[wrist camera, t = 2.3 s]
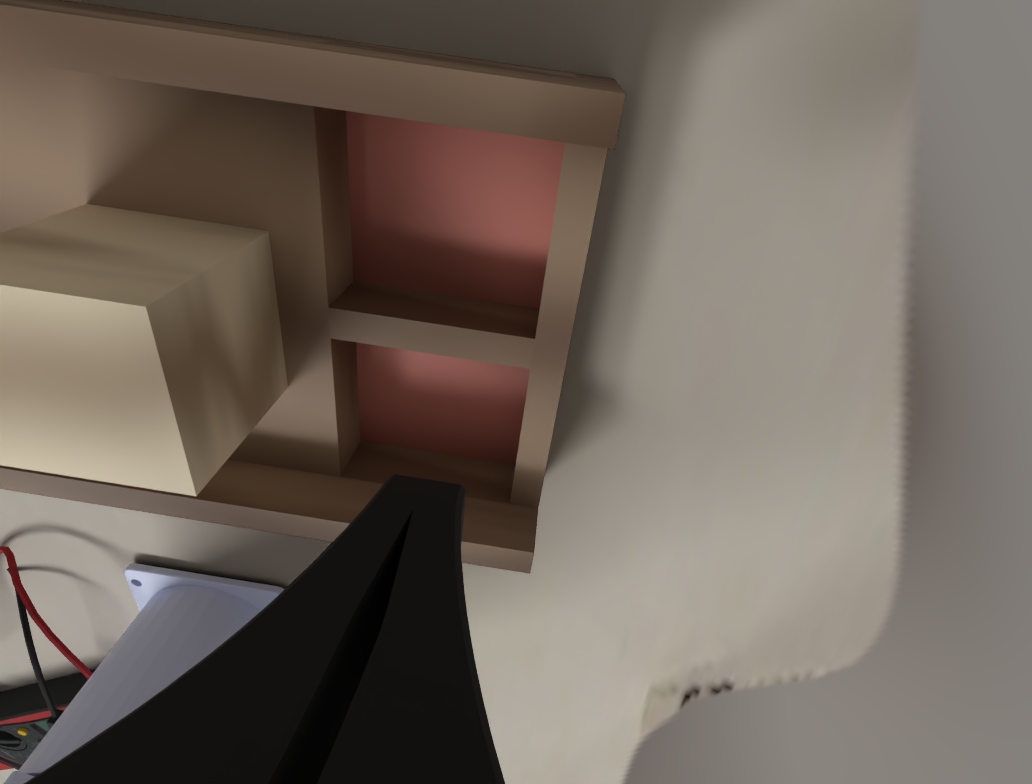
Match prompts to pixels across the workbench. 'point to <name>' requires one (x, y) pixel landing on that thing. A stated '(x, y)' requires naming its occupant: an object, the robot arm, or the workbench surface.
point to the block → (135, 346)
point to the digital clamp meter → (33, 689)
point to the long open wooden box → (336, 244)
